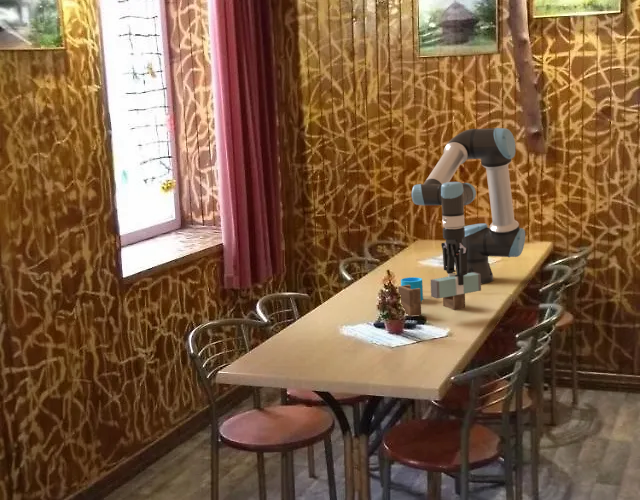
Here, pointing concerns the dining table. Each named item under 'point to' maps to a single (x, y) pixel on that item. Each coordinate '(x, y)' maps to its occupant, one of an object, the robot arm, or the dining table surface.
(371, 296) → the dining table surface
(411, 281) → the mug
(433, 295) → the rail
